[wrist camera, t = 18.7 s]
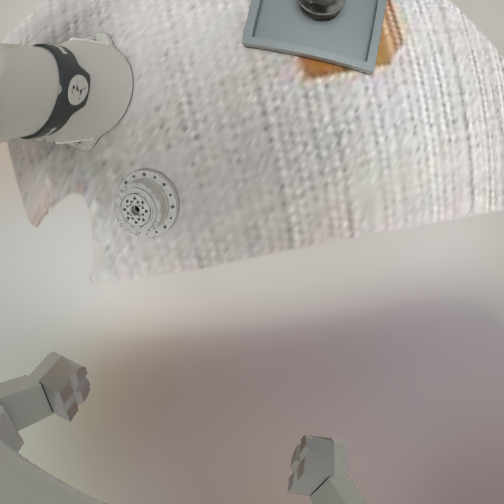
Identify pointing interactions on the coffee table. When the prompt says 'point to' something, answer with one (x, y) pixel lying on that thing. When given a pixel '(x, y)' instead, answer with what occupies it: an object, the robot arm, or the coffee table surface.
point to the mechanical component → (146, 203)
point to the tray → (318, 32)
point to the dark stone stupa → (321, 9)
